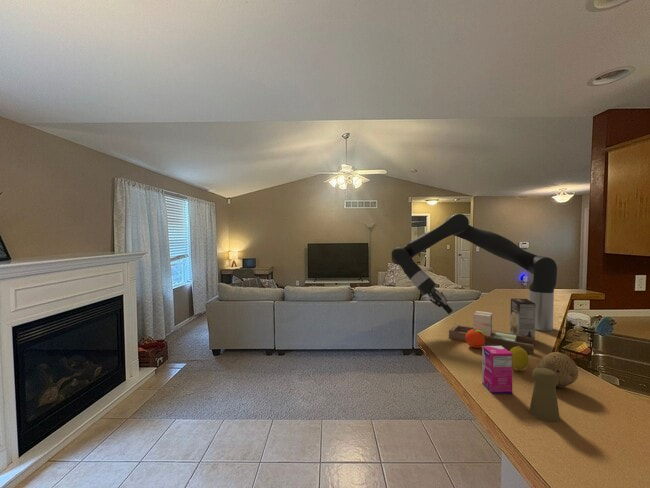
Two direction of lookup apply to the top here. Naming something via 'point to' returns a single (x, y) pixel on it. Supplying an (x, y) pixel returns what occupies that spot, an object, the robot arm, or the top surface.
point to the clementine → (475, 338)
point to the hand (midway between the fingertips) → (451, 312)
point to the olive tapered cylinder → (545, 395)
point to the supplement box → (497, 369)
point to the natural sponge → (561, 368)
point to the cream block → (483, 322)
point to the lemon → (519, 358)
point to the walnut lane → (496, 338)
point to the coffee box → (522, 317)
